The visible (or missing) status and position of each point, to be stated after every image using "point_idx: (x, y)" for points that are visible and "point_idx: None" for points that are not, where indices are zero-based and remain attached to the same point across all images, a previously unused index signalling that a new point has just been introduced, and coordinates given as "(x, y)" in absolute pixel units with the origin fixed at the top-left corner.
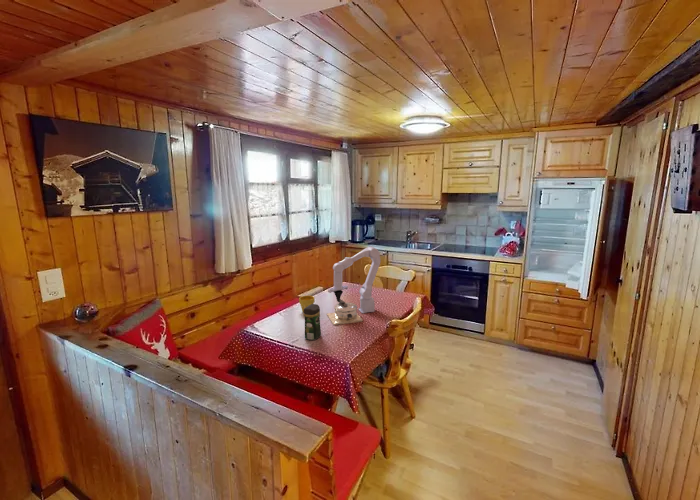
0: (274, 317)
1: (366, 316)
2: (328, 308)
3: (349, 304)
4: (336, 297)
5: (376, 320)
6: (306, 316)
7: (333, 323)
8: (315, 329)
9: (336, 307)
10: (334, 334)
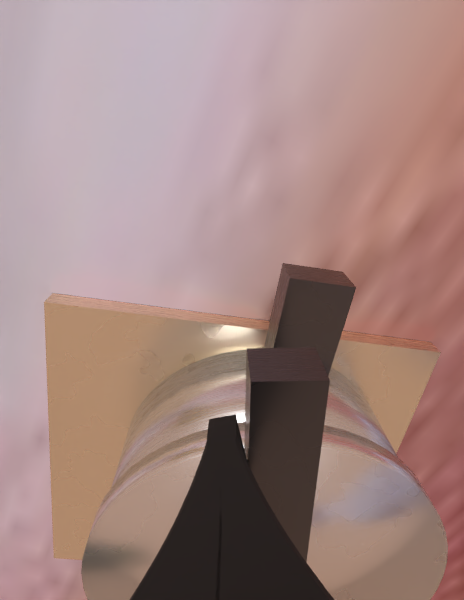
0: None
1: (442, 498)
2: (160, 12)
3: (360, 548)
4: (198, 489)
5: (445, 581)
6: None
7: (57, 552)
8: None
9: (109, 575)
10: None
